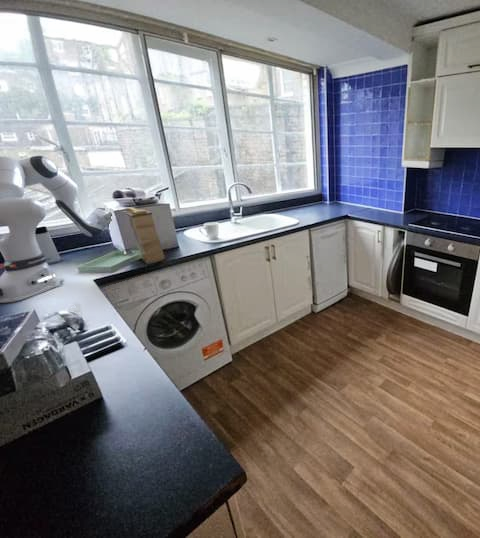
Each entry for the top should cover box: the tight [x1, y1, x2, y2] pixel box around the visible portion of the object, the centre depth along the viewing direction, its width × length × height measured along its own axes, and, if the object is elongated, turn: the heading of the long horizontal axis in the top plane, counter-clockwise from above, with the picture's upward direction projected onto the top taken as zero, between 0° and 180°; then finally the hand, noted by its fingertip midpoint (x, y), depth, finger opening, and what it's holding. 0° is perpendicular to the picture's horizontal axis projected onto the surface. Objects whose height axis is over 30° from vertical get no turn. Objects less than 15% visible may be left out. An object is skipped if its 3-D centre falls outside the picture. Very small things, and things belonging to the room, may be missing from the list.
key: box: [125, 206, 148, 215], centre depth 153 cm, size 18×5×1 cm, turn 51°
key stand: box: [125, 210, 166, 265], centre depth 155 cm, size 11×9×26 cm
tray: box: [76, 250, 142, 273], centre depth 156 cm, size 24×18×3 cm
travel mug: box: [35, 225, 62, 265], centre depth 157 cm, size 6×7×20 cm
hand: (120, 212), depth 164 cm, fingers open, 8 cm apart
